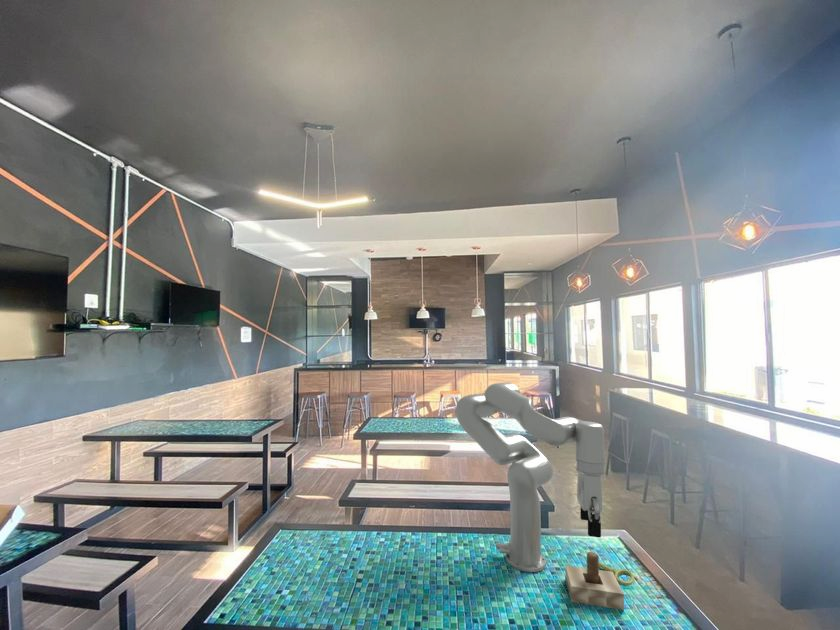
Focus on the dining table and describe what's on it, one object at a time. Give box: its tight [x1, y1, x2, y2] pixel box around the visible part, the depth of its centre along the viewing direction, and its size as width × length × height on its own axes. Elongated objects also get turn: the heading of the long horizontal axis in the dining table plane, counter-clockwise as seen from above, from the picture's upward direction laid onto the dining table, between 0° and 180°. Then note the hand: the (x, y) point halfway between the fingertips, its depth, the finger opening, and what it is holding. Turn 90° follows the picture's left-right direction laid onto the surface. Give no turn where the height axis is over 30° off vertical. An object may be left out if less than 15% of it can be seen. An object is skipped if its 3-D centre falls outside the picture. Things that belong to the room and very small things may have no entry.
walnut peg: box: [586, 551, 600, 584], centre depth 104 cm, size 3×3×10 cm
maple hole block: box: [564, 564, 625, 611], centre depth 104 cm, size 13×10×4 cm
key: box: [599, 561, 636, 586], centre depth 113 cm, size 7×12×2 cm, turn 61°
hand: (590, 527), depth 106 cm, fingers open, 9 cm apart
